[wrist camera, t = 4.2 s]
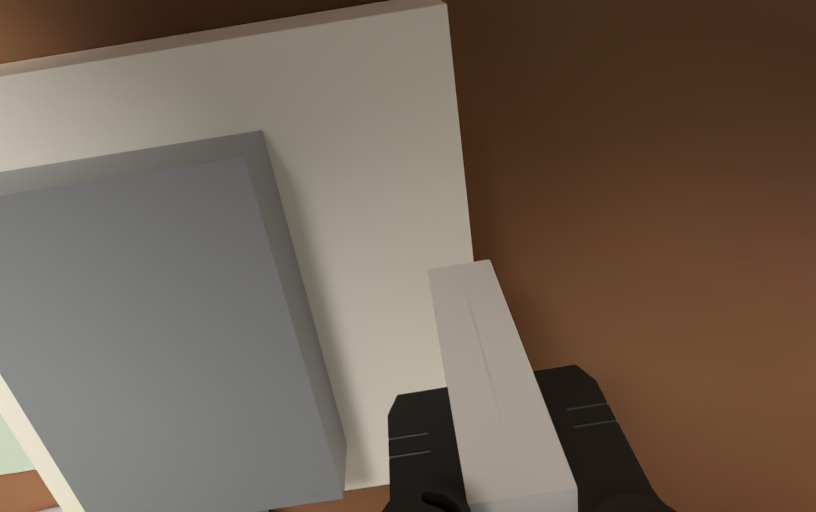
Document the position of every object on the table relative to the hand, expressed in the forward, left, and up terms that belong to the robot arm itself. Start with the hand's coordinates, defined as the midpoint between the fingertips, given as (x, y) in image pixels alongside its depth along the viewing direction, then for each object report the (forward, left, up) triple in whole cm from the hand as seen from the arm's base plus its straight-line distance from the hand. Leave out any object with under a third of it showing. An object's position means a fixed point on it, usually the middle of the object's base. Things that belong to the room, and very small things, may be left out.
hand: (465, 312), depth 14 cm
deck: (0, -7, -5) cm, 8 cm away
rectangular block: (0, -8, -1) cm, 8 cm away
